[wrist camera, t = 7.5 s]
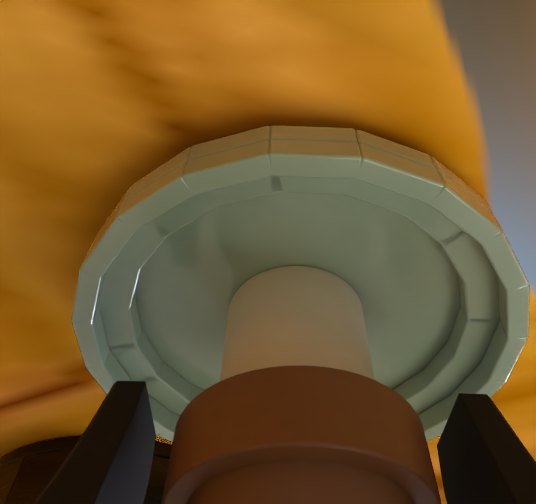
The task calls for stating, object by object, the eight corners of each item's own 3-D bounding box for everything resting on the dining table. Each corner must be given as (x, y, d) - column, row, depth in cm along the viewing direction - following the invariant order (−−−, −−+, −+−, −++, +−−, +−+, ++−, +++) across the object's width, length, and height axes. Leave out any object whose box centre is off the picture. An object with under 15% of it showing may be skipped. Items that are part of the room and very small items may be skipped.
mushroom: (410, 241, 12) (519, 580, 7) (376, 379, 15) (429, 687, 10) (192, 233, 12) (113, 565, 7) (203, 373, 15) (157, 677, 10)
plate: (571, 124, 11) (614, 165, 9) (446, 425, 18) (460, 475, 16) (51, 106, 11) (17, 144, 9) (126, 413, 18) (112, 462, 16)
